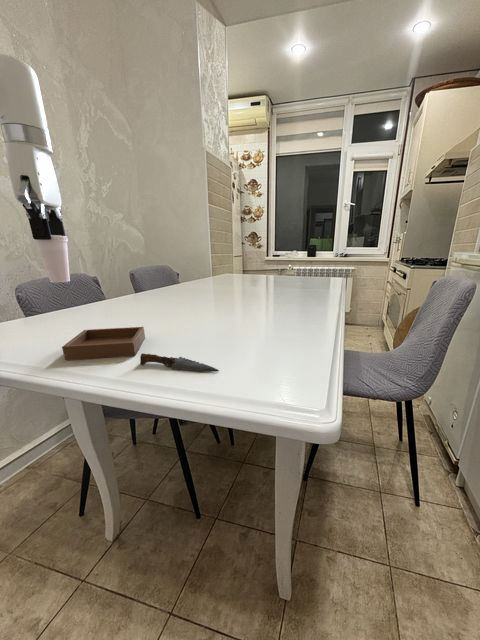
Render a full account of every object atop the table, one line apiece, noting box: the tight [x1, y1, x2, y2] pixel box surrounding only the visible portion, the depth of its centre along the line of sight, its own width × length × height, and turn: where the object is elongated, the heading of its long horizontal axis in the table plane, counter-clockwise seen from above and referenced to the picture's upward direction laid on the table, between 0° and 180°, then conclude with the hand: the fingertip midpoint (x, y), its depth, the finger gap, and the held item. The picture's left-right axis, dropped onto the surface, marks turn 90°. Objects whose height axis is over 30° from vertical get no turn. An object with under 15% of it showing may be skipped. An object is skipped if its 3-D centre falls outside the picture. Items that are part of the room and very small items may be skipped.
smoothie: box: [31, 235, 71, 284], centre depth 64 cm, size 6×6×14 cm
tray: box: [61, 326, 146, 361], centre depth 66 cm, size 14×13×3 cm
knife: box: [139, 352, 219, 373], centre depth 56 cm, size 17×2×5 cm
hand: (50, 239), depth 63 cm, fingers closed on smoothie, 6 cm apart
